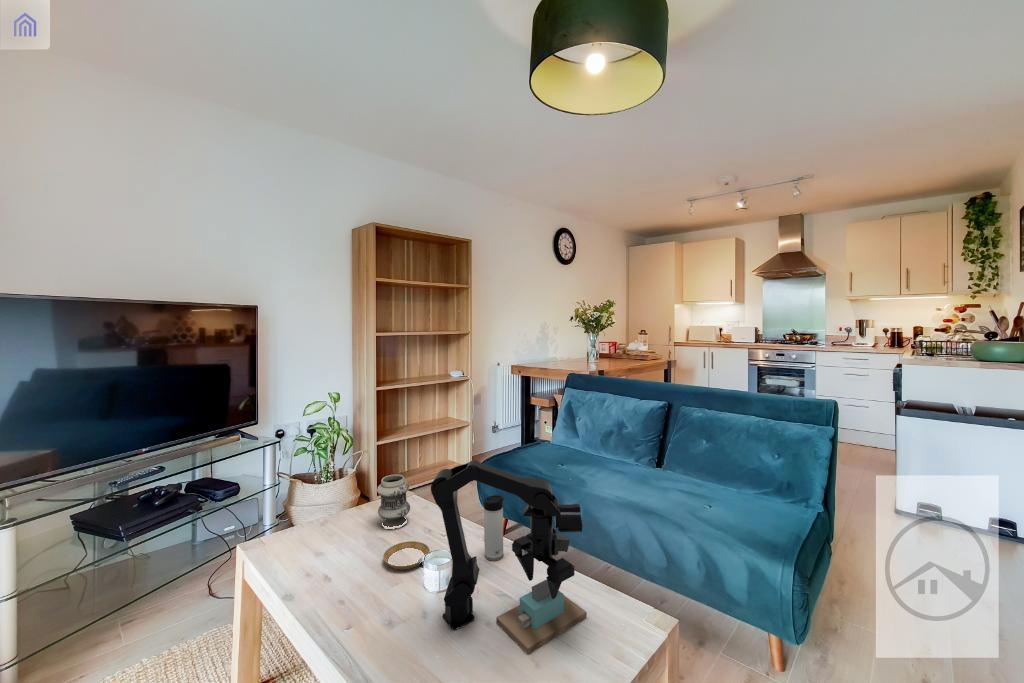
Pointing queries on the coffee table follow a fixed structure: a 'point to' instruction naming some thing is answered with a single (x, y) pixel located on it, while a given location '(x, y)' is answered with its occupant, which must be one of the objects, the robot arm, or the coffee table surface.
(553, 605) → the grooved box
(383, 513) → the apothecary jar
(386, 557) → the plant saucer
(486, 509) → the travel mug
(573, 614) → the cleat board
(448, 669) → the coffee table surface
